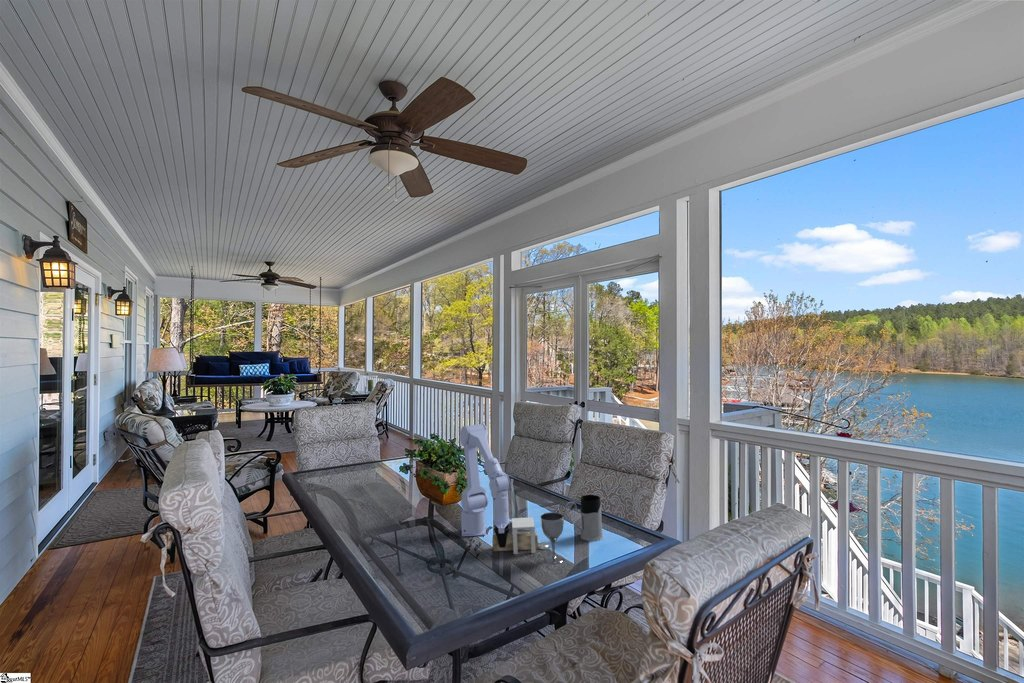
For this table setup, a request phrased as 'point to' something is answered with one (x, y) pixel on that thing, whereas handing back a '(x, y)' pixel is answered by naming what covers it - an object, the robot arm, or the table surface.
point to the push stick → (522, 542)
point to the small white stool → (523, 531)
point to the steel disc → (543, 546)
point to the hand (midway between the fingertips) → (502, 545)
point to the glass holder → (590, 518)
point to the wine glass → (552, 533)
